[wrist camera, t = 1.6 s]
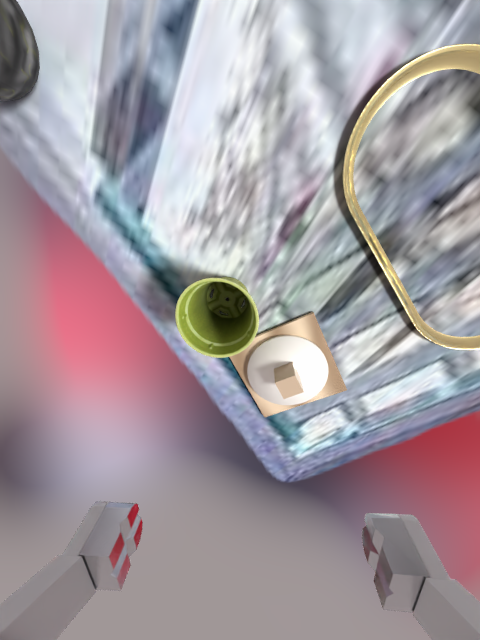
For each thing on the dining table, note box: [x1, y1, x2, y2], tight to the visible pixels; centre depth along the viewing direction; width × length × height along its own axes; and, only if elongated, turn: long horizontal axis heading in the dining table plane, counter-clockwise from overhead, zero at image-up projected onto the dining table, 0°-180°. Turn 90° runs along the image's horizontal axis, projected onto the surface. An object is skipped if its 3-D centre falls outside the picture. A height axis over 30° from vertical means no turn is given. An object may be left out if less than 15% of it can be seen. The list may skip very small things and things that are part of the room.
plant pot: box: [175, 277, 259, 358], centre depth 32 cm, size 9×9×9 cm
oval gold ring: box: [343, 44, 480, 350], centre depth 30 cm, size 19×35×2 cm, turn 37°
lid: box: [247, 335, 328, 405], centre depth 37 cm, size 12×12×4 cm
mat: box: [229, 312, 347, 417], centre depth 39 cm, size 14×14×1 cm
